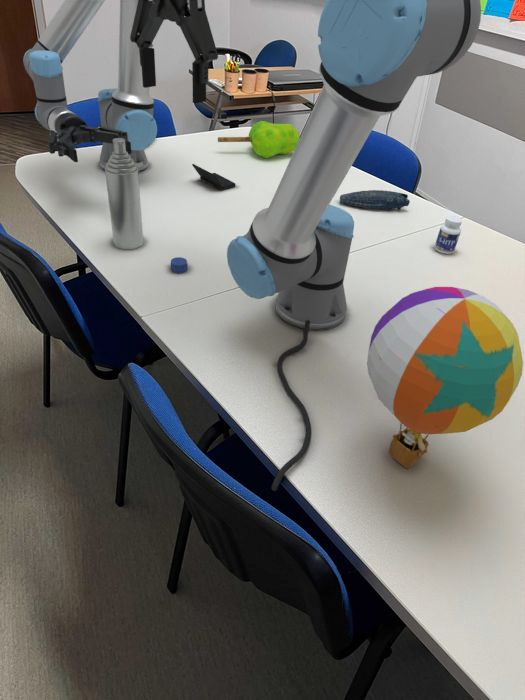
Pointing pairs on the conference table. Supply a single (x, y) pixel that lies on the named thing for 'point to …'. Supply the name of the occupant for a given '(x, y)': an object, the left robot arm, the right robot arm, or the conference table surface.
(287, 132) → the decorative tree
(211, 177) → the handheld gaming console
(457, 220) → the pill bottle
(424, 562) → the conference table surface
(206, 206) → the conference table surface
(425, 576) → the conference table surface
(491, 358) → the toy
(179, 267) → the cap
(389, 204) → the fish model
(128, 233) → the bottle
